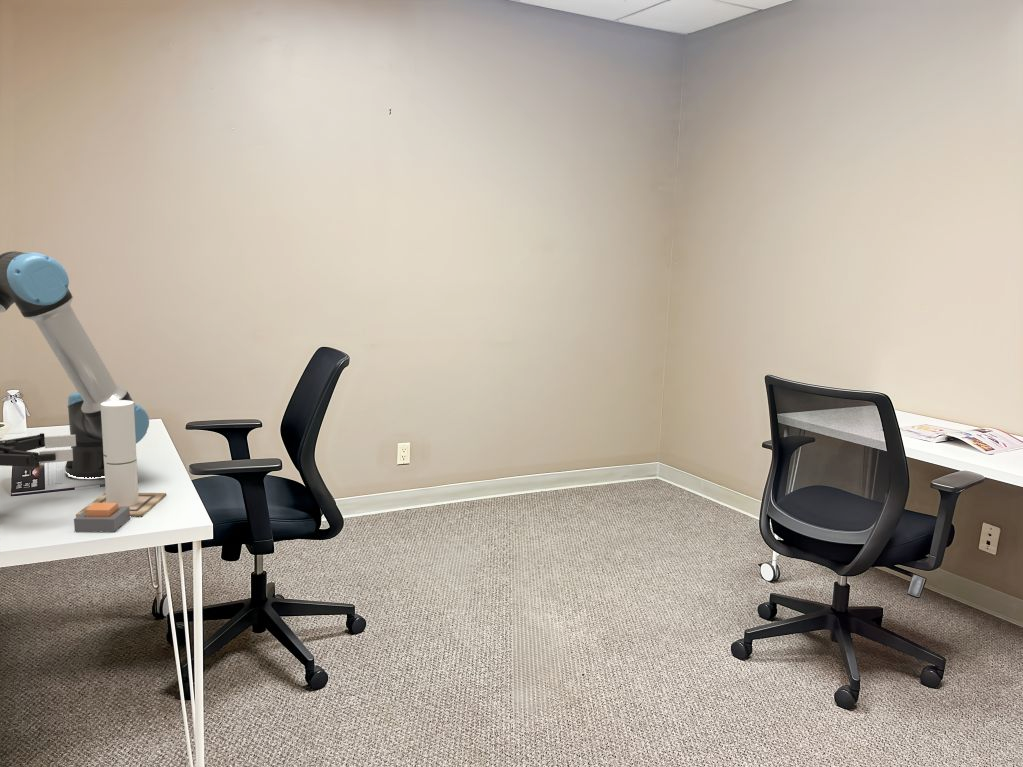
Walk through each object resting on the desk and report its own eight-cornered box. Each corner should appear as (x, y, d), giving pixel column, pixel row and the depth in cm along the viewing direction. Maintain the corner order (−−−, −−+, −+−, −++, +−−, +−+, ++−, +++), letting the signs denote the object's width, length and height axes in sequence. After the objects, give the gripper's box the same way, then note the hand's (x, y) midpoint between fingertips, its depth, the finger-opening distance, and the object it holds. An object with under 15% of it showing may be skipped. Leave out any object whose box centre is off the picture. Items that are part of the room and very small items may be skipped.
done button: (96, 514, 182) (95, 502, 181) (118, 515, 182) (117, 502, 181) (86, 522, 177) (85, 510, 176) (109, 522, 177) (108, 510, 177)
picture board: (105, 494, 200) (105, 491, 200) (166, 495, 201) (166, 492, 201) (76, 516, 184) (75, 513, 184) (141, 517, 186) (141, 513, 185)
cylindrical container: (130, 496, 198) (125, 398, 193) (144, 502, 193) (139, 403, 189) (101, 502, 192) (95, 402, 188) (114, 509, 188) (108, 407, 183)
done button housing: (92, 518, 184) (91, 506, 183) (130, 518, 184) (129, 506, 184) (74, 531, 175) (73, 519, 175) (114, 532, 176) (113, 519, 175)
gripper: (-23, 456, 188) (77, 449, 197) (-43, 487, 166) (72, 477, 175) (-26, 426, 187) (75, 420, 196) (-46, 453, 165) (70, 444, 174)
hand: (74, 447), depth 186 cm, fingers open, 13 cm apart
